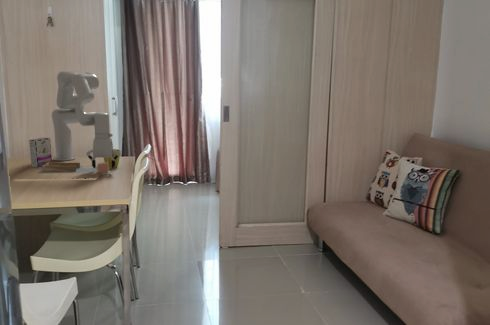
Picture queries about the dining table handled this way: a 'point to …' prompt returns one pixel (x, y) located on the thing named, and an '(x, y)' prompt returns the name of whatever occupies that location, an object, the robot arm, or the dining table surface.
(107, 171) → the cube
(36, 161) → the candy bar box
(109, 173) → the pad
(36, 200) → the dining table surface
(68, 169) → the frame
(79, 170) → the deck
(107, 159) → the plant pot
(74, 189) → the dining table surface
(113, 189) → the dining table surface
